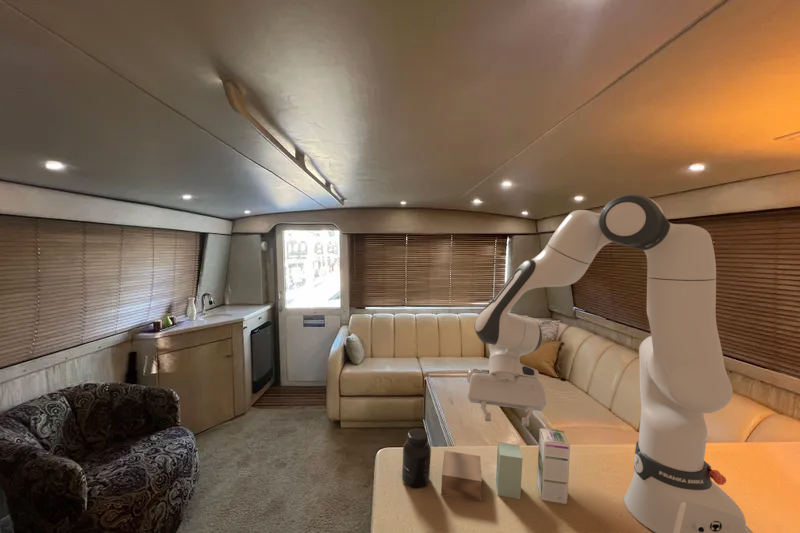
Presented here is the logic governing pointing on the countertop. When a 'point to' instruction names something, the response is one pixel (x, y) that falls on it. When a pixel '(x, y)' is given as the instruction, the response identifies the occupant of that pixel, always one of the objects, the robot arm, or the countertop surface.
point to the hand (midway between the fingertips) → (506, 423)
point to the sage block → (509, 470)
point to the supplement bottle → (416, 459)
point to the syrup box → (553, 465)
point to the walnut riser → (461, 476)
